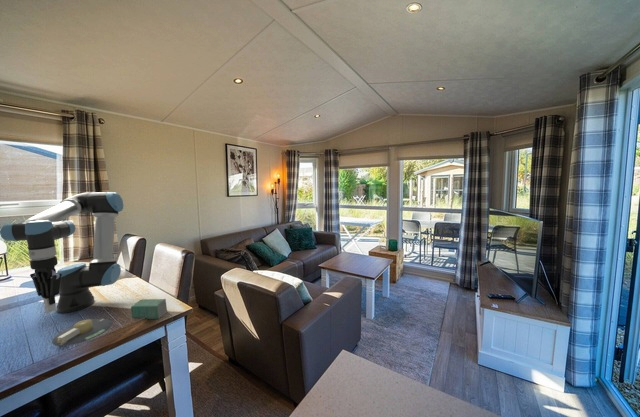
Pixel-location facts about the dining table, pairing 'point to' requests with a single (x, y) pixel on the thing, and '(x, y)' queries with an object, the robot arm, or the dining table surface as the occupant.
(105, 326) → the plate
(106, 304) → the dining table surface
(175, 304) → the dining table surface
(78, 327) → the round-headed handle
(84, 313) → the dining table surface
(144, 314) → the box
